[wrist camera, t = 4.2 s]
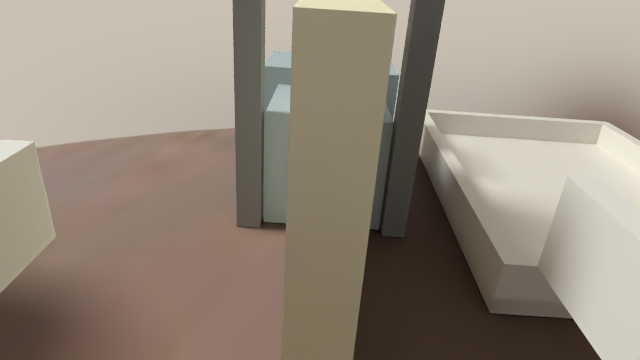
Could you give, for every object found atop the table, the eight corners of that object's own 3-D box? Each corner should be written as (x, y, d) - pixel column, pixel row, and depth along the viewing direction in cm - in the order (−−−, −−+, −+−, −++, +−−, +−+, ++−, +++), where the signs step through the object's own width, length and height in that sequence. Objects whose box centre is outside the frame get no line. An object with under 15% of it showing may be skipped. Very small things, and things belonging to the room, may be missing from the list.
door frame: (382, 153, 34) (411, -64, 28) (404, 237, 24) (458, -80, 17) (266, 145, 34) (269, -75, 28) (237, 225, 24) (230, -96, 17)
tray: (597, 150, 38) (607, 121, 37) (861, 338, 19) (898, 290, 18) (411, 137, 38) (416, 108, 37) (489, 312, 19) (504, 263, 18)
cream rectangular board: (338, 197, 27) (358, -18, 22) (344, 426, 14) (396, 14, 9) (306, 195, 27) (317, -20, 22) (279, 422, 14) (293, 7, 9)
